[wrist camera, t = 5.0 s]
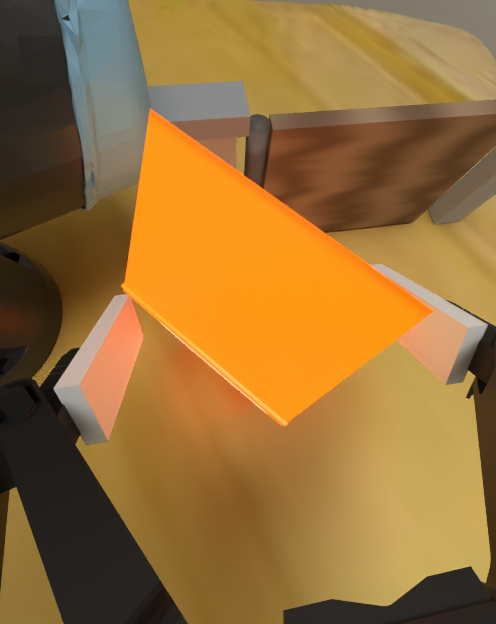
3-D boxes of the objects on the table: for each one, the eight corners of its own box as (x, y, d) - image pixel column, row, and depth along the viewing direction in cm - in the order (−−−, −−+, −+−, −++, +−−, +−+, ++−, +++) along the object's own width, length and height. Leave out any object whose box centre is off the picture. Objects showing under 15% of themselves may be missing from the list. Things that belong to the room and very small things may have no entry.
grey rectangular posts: (191, 253, 28) (151, 123, 14) (189, 231, 28) (148, 86, 15) (462, 223, 30) (647, 90, 17) (454, 204, 31) (626, 60, 18)
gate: (242, 241, 28) (248, 132, 16) (238, 220, 29) (242, 101, 17) (413, 222, 30) (533, 112, 18) (406, 203, 30) (517, 84, 19)
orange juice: (255, 406, 24) (341, 476, 5) (181, 343, 25) (14, 197, 6) (306, 339, 26) (513, 197, 7) (235, 283, 27) (239, 27, 8)
